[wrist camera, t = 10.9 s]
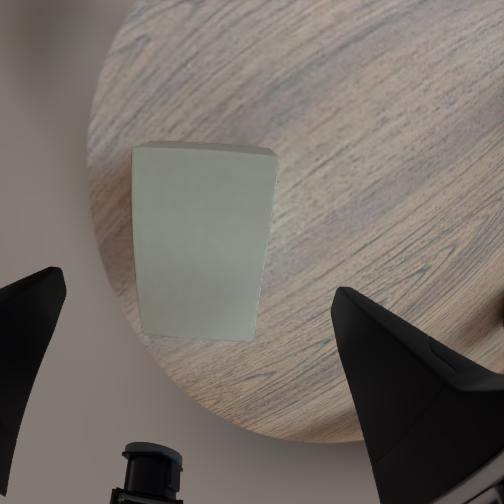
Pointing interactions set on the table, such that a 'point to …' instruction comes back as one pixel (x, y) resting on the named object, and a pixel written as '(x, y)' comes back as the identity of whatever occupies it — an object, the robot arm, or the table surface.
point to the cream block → (201, 236)
